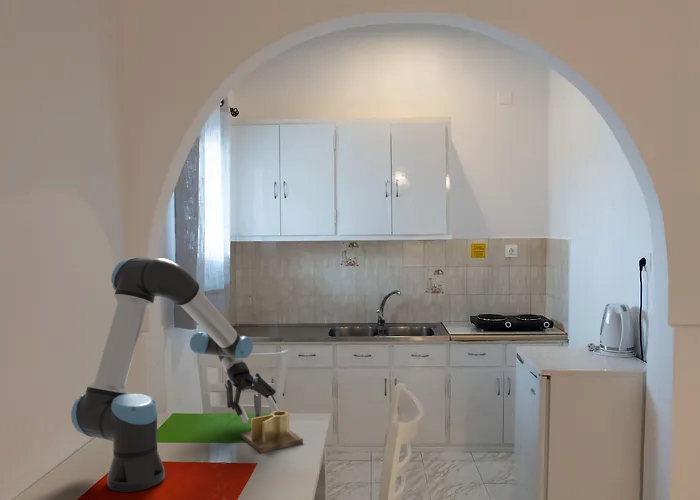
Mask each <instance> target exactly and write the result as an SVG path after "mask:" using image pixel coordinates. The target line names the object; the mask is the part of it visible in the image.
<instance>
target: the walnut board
mask: <svg viewBox="0 0 700 500" xmlns="http://www.w3.org/2000/svg"><path fill="white" fill-rule="evenodd" d="M240 436H241V439H242V440H244V441H245V442H246V443H248V444H249V445H250V446H251V447H252V448H253V449H254V450H256V451H257V452H258V453H259V454H261V453H265V452H268V451H269V452H270V451H273V450H278V449H283V448H288V447H289V448H290V447H292V446H299V445H302V444H303V443H304V439H303V437H301V436H299V435H298V434H296V433H295V432H293V431H292V430H291V429H289V435H288V436H285V437H276V438H274V439H273V440H271V441H270V442H268V443H267V444H263V438H262V439H257V440H251V430H250V431H246V432H245V431H244V432H241V435H240Z"/></svg>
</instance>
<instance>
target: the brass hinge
mask: <svg viewBox="0 0 700 500" xmlns="http://www.w3.org/2000/svg"><path fill="white" fill-rule="evenodd" d="M289 430H290V412H288V411H286V410H279V411H274V412H272V411H271V412H270V414H266V415H261V417H256V418H254V417H252V418H250V431H251V440H257V439H262V438H263V444H267V443H268V442H270V441H271V440H273V439H274V438H276V437H285V436H288V435H289Z"/></svg>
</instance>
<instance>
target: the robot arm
mask: <svg viewBox="0 0 700 500" xmlns="http://www.w3.org/2000/svg"><path fill="white" fill-rule="evenodd" d="M110 280H111V284H112V285H111V286H112V288H113V290H114V294H113V296H114V298H115V300H116V303H117V304H116V307H115V311H114V315H113V318H112V321H111V324H110V328H109V332H108V335H107V337H106V341H105V345H104V349H103V351H102V352H103V353H102V355H101V358H100V362H99V366H98V369H97V372H96V375H95V379H94V381H93V382H92V383H90V384H89V385H87V388H86V390H85V393H83V394H82V395H80V396H79V398H76V399H75V401H74V403H73V405H72V408H71V413H70V414H71V415H70V418H71V423H72V425H73V426H74V428H75V430H76V431H77V432H79V433H80V434H82V435H85V436H87V437H91V438H98V439H102V440H107V441H111V442H112V447H113V448H112V451H113V457H112V460H111V463H110V467H109V470H108V473H107V478H106V481H107V483H106V484H107V487H108V488H109V489H110V490H111V491H114V492H121V493H131V492H139V491H143V490H148V489H150V488H153V487H156V486H158V485H159V484H160V483H162V482H163V481H164V479H165V477H166V475H165V467H164V465H163V464H164V463H163V461H162V459H161V456H160V454H159V451H158V410H157V404H156V401H155V399H153V397H151V396H150V395H146V394H142V393H130V392H129V391H128V389H127V388H126V383H127V381H128V376H129V373H130V369H131V365H132V363H133V359H134V355H135V351H136V349H137V344H138V340H139V337H140V333H141V329H142V327H143V322H144V318H145V315H146V311H147V309H149V307H152V306H153V305H154V301H155V299H156V298H155V297H161V298H165V299H167V300H169V301H170V302H171V303H173V304H174V305H175V306H177V307H181V308H182V309H183V310H184V311H185V312H186V313H187V314H188V316H189V317H190V318H192V319H193V320H194V322H195V323H197V325H199V327H200V328H201V329H202V330H203V331H196V332H195V333H193V334H192V335H191V337H190V340H189V347H190V349H191V351H192V352H193V353H197V354H199V355H209V356H217V357H218V359H219V361H220V363H221V365H222V366H223V369H224V370H225V372H226V374H227V375H226V376H227V377H228V380H226V382H225V383H224V387H225V389H226V407H227V408H228V409H232V410H234V411H235V413H236V415H237V416H239V417H240V419H241V420H242V424H243V425H247V424H248V422H249V421H250V418H249V417H248V415H247V412H246V410H245V408H244V407H243V405H242V403H240V398H241V394H242V392H243V391H245V390H246V391H247V390H251V391H255V392H256V393H257V394H261V397H264V398H265V399H266V400H265V401H266V403H267V404H268V406H269V408H270V410H271V413H272V412H274V411H280V409H279V408H278V406H277V401H276V399H275V397H274V395H275V394H276V393H277V391H276V390H275V389H274V388H273V387H272V386H271V385H270V384H269V383H268V382H266V381H265V379H263V378H262V377H261V375H260V374H259V373H258V372H257V373H256V374H255V375H252V374H251V373H250V368H249V367H248V365H247V364H246V363H247V362H245V360H244V359H248V358H249V357H250V355H251V354H252V351H253V348H254V343H253V340H252V339H251V337H249V336H246V335H241V334H239V333H238V331H237V330H235V328H234V327H233V326H232V325H231V324H230V323H229V321H228V320H227V319H226V318H225V316H223V314H222V313H221V312H220V311H219V310H218V309H217V308H216V307H215V305H214V304H213V303H212V302H211V301H210V300H209V299H208V297H206V295H205V294H204V293H203V291H202V290H201V289H200V284H199V282H198V281H197V280H196V279H195V278H194V277H193V276H192V275H191V274H190V273H189V272H188V271H187V270H186V269H184V268H183V267H182V266H181V265H179V264H178V263H177V262H174V261H172V260H170V259H167V258H163V257H161V258H160V257H158V258H154V257H150V258H149V257H138V256H137V257H129V258H126V259H123V260H121V261H120V262H118V263H117V264H116V265H115V267H114V269H113V270H112V273H111V279H110ZM233 388H235V392H234V389H233ZM234 393H235V394H234Z"/></svg>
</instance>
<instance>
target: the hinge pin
mask: <svg viewBox="0 0 700 500" xmlns="http://www.w3.org/2000/svg"><path fill="white" fill-rule="evenodd" d="M253 410H254V411H253V414H254V417H253V418H256V417H261V416H262V395H261V394H259V393H256V394H254V395H253Z"/></svg>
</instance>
